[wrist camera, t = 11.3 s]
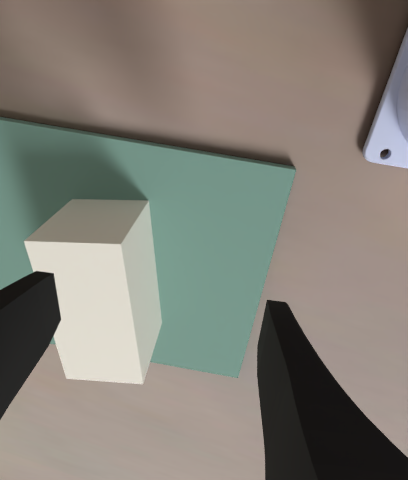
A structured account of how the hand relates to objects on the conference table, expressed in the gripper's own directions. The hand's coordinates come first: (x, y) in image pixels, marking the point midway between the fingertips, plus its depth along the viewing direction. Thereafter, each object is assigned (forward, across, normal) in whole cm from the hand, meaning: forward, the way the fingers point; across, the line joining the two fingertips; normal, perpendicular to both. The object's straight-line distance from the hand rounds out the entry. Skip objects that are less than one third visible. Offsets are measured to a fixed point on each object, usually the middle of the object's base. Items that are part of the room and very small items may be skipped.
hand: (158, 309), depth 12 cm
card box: (+9, +4, +5) cm, 11 cm away
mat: (+9, +4, +5) cm, 11 cm away
